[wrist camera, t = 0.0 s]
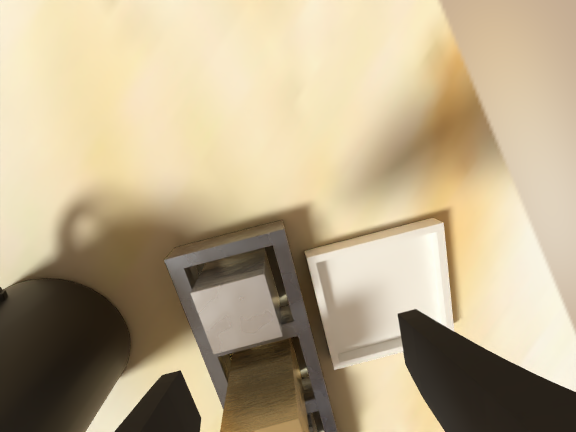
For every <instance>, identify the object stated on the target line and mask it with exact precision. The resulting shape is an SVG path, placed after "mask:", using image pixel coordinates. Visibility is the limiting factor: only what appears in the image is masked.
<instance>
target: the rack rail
mask: <svg viewBox="0 0 576 432" xmlns="http://www.w3.org/2000/svg"><path fill="white" fill-rule="evenodd" d="M272 245H273V248H274V252H275V255H276V259H277V262H278V266H279V269H280V273H281V277H282V280H283V284H284V287H285V291H286V295H287V298H288V302H289V305H287V306H283V307H280V300H279V295H278V292H277V288H276V285H275V281H274V278H273V274H272V271H271V268H270V264H269V261H268V257H267V254H266V250H265V247H268V246H272ZM164 261H165V264H166V266H167V269H168V271H169V274H170V276H171V279H172V281H173V284H174V286H175V289H176V291H177V294H178V296H179V299H180V301H181V304H182V306H183V309H184V311H185V314H186V317H187V319H188V322H189V324H190V327H191V329H192V332H193V334H194V337H195V339H196V342H197V344H198V347H199V349H200V352H201V354H202V357H203V359H204V362H205V364H206V367H207V369H208V372H209V374H210V377H211V379H212V382H213V384H214V387H215V389H216V392H217V394H218V397H219V399H220V402H221V404H222V407H223V409H224V404H225V398H226V392H227V385H228V379H229V373H230V366H231V359H230V356H229V354H230V353H234V352H238V351H242V350H246V349H249V348H253V347H257V346H261V345H265V344H269V343H272V342H276V341H280V340H284V339H288V338H291V337H295V336H298V338H299V341H300V345H301V349H302V352H303V356H304V359H305V363H306V366H307V370H308V374H309V377H305V378H302V386H303V393H304V399H305V406H306V413H307V419H308V426H309V432H318V431H317V428H316V424H315V421H314V417H313V414H312V412H316V411H319V413H320V417H321V420H322V424H323V428H324V431H325V432H338V431H337V427H336V423H335V419H334V415H333V412H332V408H331V404H330V400H329V396H328V392H327V389H326V385H325V381H324V377H323V373H322V369H321V366H320V362H319V358H318V354H317V350H316V346H315V343H314V339H313V335H312V331H311V327H310V324H309V320H308V316H307V312H306V308H305V304H304V301H303V297H302V293H301V289H300V285H299V281H298V278H297V274H296V270H295V266H294V262H293V259H292V255H291V251H290V247H289V243H288V239H287V236H286V232H285V228H284V224H283V220H279V221H276V222H272V223H268V224H264V225H260V226H256V227H252V228H248V229H244V230H241V231H237V232H233V233H229V234H225V235H221V236H217V237H213V238H210V239H206V240H202V241H198V242H194V243H190V244H186V245H182V246H178V247H175V248H174V249H173V250H172V251H171V252H170V254H169V255H168V256H167V257H166V258H165V259H164ZM202 263H205V265H204V267H203V269H202V271H201V273H200V275H199V272H198V269H197V266H196V265H198V264H202Z"/></svg>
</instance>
